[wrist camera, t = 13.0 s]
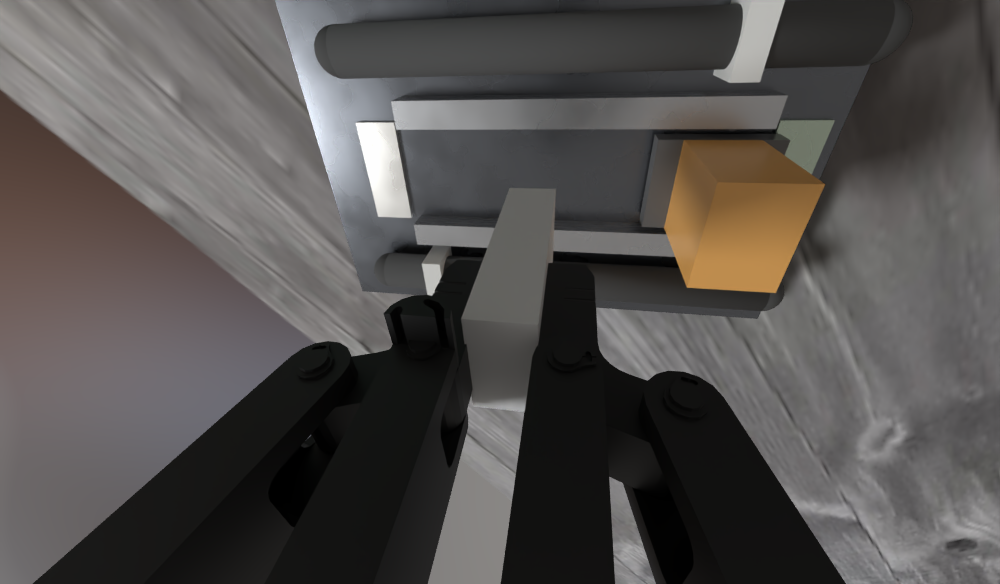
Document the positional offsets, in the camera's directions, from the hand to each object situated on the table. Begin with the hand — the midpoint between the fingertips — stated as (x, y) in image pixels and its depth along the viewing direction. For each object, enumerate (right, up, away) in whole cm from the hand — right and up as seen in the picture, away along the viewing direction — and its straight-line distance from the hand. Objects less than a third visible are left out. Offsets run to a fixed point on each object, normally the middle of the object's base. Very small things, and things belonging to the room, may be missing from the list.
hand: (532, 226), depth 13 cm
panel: (+2, +5, +8) cm, 9 cm away
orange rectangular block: (+8, +3, +5) cm, 10 cm away
